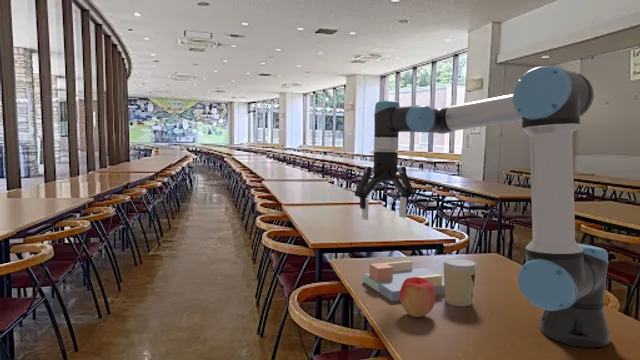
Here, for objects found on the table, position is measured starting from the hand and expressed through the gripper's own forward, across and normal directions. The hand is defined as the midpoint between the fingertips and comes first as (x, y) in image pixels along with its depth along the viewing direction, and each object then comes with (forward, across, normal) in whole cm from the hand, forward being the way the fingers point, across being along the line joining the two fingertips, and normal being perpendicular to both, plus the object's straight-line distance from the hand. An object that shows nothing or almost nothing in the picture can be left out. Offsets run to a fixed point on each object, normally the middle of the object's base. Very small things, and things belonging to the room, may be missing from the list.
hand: (384, 218), depth 141 cm
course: (+23, -9, +2) cm, 24 cm away
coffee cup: (+23, -16, +18) cm, 33 cm away
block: (+20, 0, -1) cm, 20 cm away
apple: (+23, +2, +23) cm, 32 cm away
